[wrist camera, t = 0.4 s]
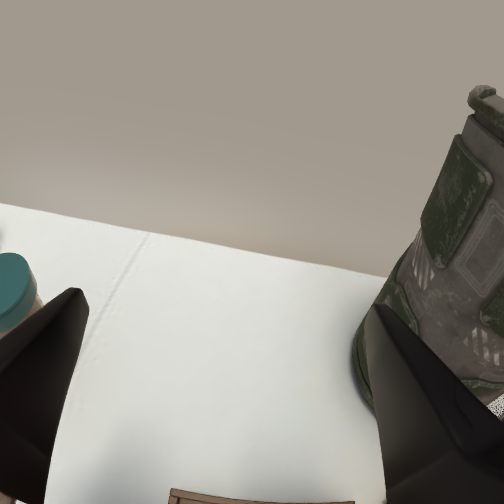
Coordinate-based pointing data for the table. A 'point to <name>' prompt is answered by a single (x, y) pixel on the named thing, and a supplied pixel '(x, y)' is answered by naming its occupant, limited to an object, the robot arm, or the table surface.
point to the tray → (220, 499)
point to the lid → (15, 290)
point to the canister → (457, 260)
